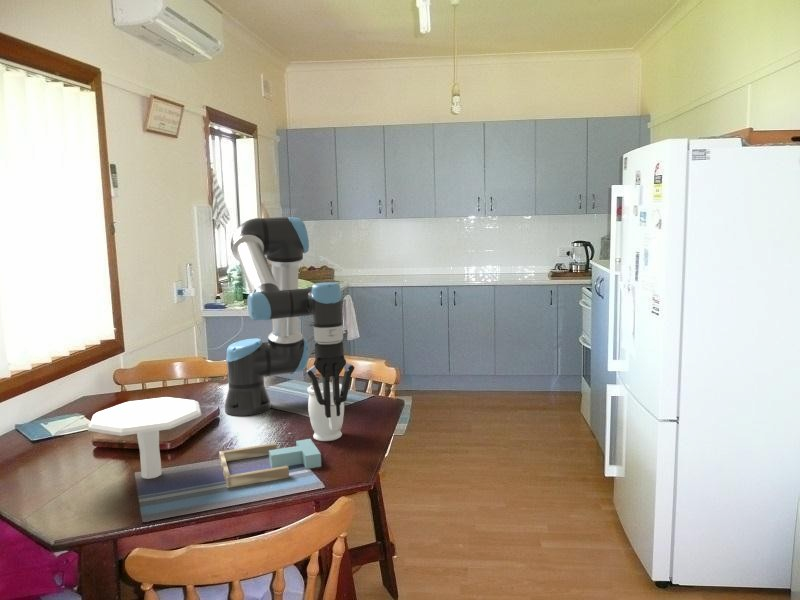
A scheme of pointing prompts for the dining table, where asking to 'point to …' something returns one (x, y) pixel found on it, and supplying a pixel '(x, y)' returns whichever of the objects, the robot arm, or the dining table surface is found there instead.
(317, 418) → the jar
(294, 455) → the t block
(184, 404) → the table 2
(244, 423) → the dining table surface
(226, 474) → the dock
